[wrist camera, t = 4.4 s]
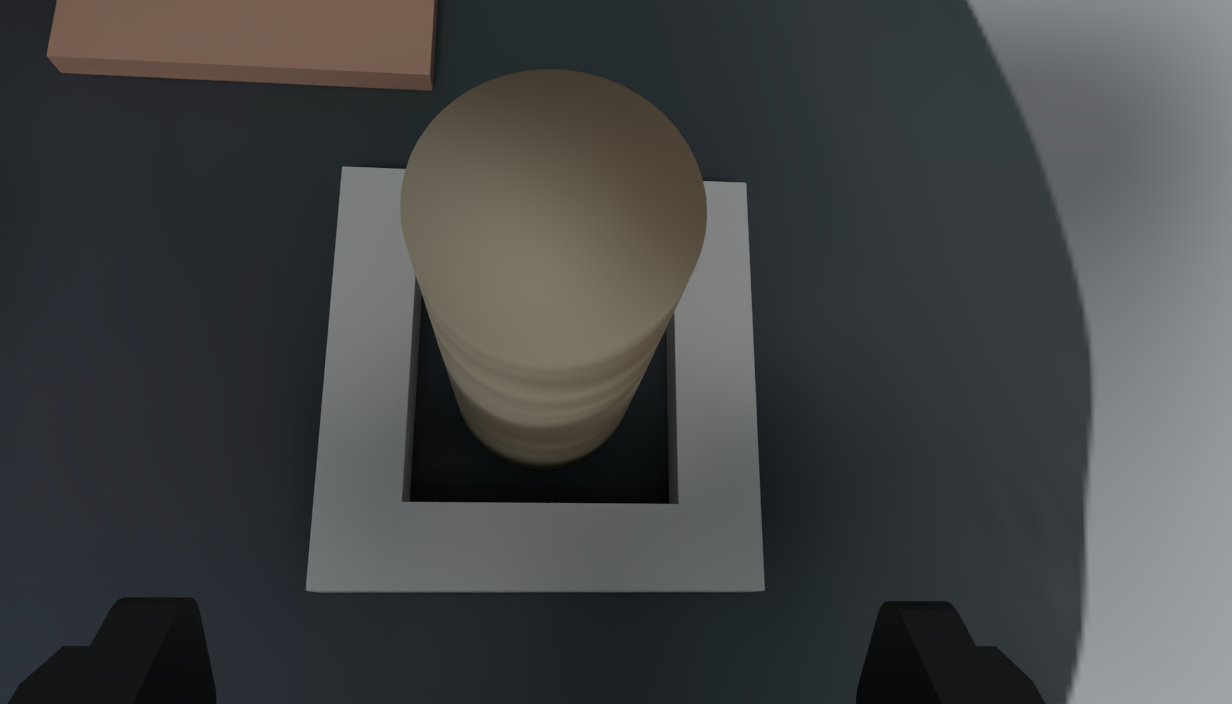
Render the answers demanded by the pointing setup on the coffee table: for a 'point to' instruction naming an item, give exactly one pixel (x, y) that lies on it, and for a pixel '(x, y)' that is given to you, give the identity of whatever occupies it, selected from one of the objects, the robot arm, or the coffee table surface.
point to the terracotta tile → (250, 40)
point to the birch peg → (550, 254)
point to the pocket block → (530, 532)
